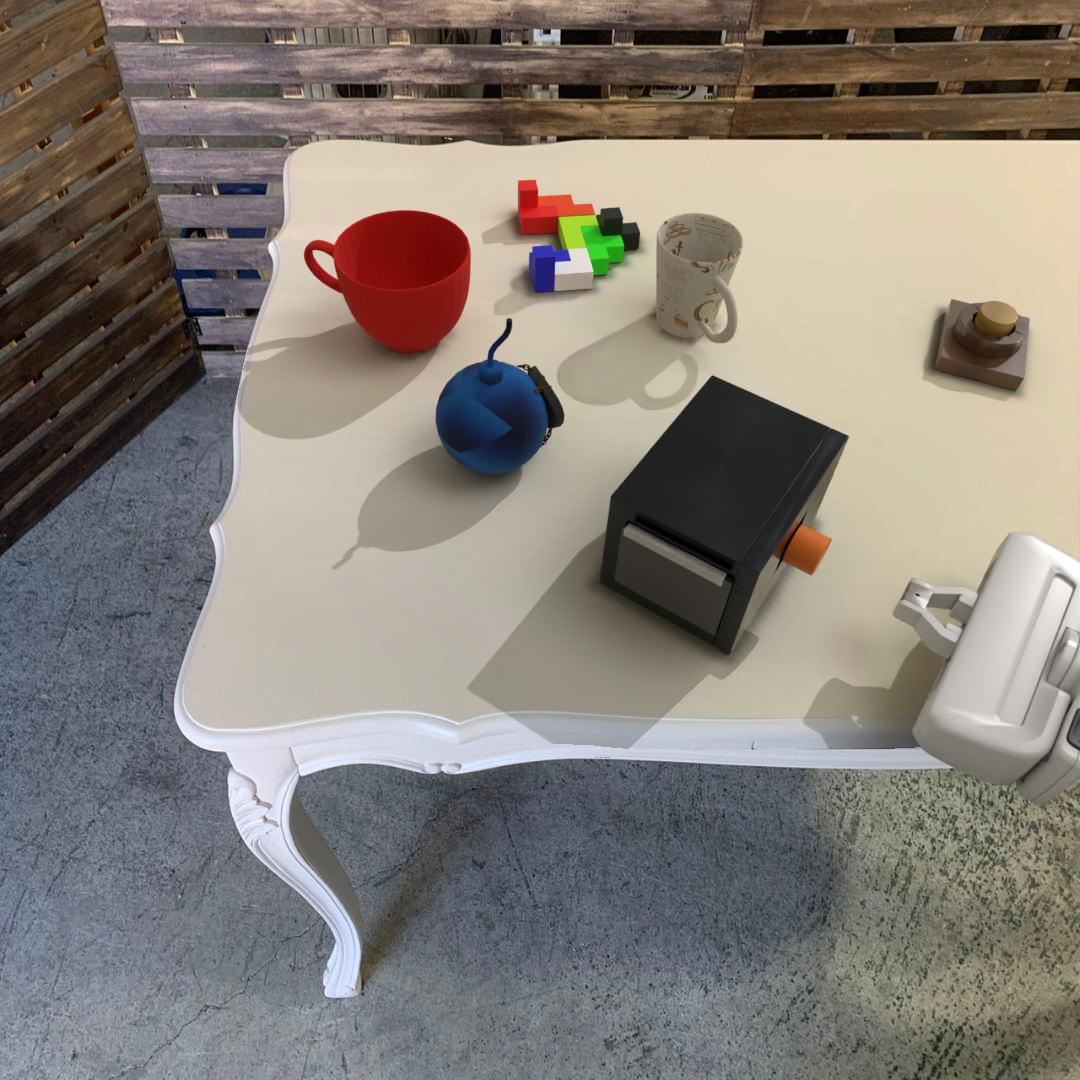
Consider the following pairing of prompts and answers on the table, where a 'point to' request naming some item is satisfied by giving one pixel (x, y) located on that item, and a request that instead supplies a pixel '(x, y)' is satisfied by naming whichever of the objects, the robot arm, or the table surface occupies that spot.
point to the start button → (996, 318)
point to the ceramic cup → (400, 276)
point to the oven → (717, 510)
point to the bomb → (496, 414)
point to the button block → (981, 348)
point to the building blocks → (572, 239)
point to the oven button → (806, 549)
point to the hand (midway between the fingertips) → (901, 595)
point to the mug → (696, 275)
